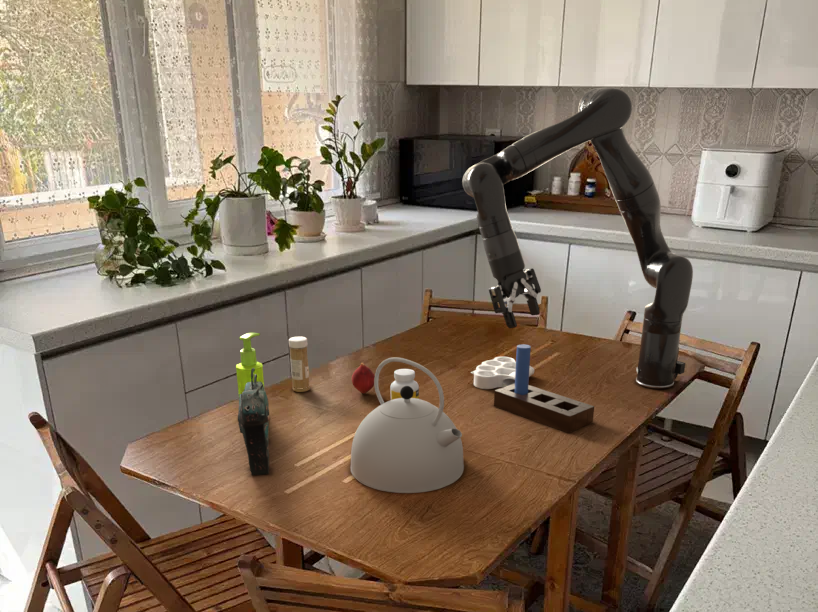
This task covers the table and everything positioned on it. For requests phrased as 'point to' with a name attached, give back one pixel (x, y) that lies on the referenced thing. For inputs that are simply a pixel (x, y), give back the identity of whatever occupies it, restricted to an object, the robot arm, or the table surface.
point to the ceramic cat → (255, 425)
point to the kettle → (407, 443)
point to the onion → (363, 379)
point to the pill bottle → (404, 383)
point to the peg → (522, 369)
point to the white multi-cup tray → (496, 373)
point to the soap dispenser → (248, 363)
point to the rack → (545, 407)
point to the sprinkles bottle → (299, 363)
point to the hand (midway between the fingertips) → (524, 321)
